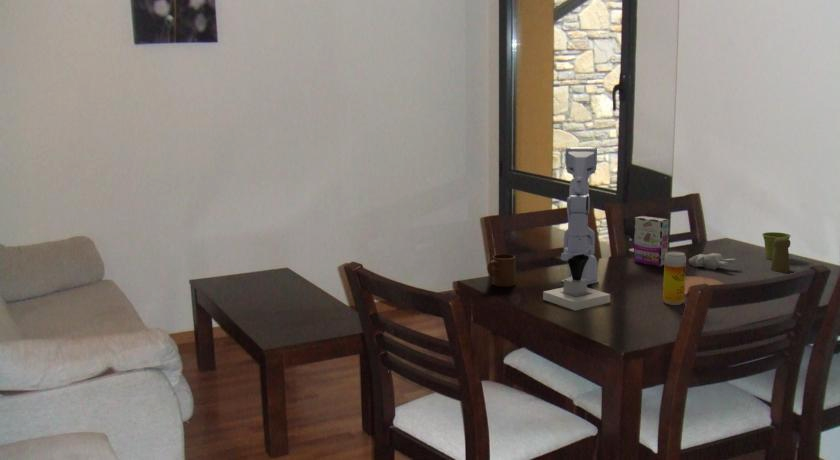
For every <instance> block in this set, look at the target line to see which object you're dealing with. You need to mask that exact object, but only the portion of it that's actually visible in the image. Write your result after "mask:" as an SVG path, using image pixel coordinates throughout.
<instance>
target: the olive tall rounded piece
mask: <svg viewBox="0 0 840 460" xmlns="http://www.w3.org/2000/svg"><path fill="white" fill-rule="evenodd" d="M774 246H775V250H774V255H773V259H771V260H772V261H771V265H770V270H771V271H772V272H779V273H788V272H790V270H791V268H790V257H789V256H790V253H789V248H790V246H791V240H790V238H789V239H787V238H776V239H775V240H774Z"/></svg>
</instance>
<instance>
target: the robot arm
mask: <svg viewBox="0 0 840 460" xmlns="http://www.w3.org/2000/svg"><path fill="white" fill-rule="evenodd" d="M564 160H565V163H564V164H565V170H566V173H568V174H570V175H571V176H572V179H571V180H570V181H569V190H568V191H569V192H568V196H567V198H566V213H567V221H568V222H567V229H566V230H565V231H564V237H563V252H561V253H560V260H561V261H566V262H567V273H566V274H567V277H566V279H567V278H569V277H571V276H572V278H573V280H581V278H584V279H587V286H588V285H591V284H595V283H596V284H597V283H599V282H600V280H599V279H598V268H599V267H598V259H597V257H596V256H595V250H596V249H595V248H596V247H595V245H596V237H595V236H596V235H595V231H594V230H593V229H592V228H590V227H589V225H588V223H589V221H588V220H589V214H590V205H591V203H590V201H591V200H590V193H589V192H590V183H589V179H590V176H591V175H593V174H595V173H596V170H597V164H598V148H597V146H592V147H589V146H588V147H586V146H585V147H583V146H581V147H580V146H578V147H577V146H576V147H575V146H573V147H572V146H571V147H570V146H567V147H566V148H565V159H564ZM561 282H562V283H564V279H561Z"/></svg>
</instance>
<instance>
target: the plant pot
mask: <svg viewBox="0 0 840 460" xmlns="http://www.w3.org/2000/svg"><path fill="white" fill-rule="evenodd" d="M761 236H762V237H763V240H764V241H763V242H764V248H765V249H764V251H765V252H764V253H765V258H766V259H767V260H772V259H773V255H774V250H775V246H774V240H775V239H776V238H787V239H789V240H790V238H791V236H792V235H791V234H788V233H784V232H778V231H777V232H769V231H768V232H763V233H762V235H761Z"/></svg>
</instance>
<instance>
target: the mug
mask: <svg viewBox="0 0 840 460" xmlns="http://www.w3.org/2000/svg"><path fill="white" fill-rule="evenodd" d="M486 269H487V273H488V274H489V276H491V277H492V279H491V280H492V284H493V286H495V287H499V288H510V287H513V286H515V285H516V279H517V276H516V275H517V262H516V256H515V255H513V254H510V253H499V254H493V255H492V260H491V261H489V262H488V264H487V268H486Z"/></svg>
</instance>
